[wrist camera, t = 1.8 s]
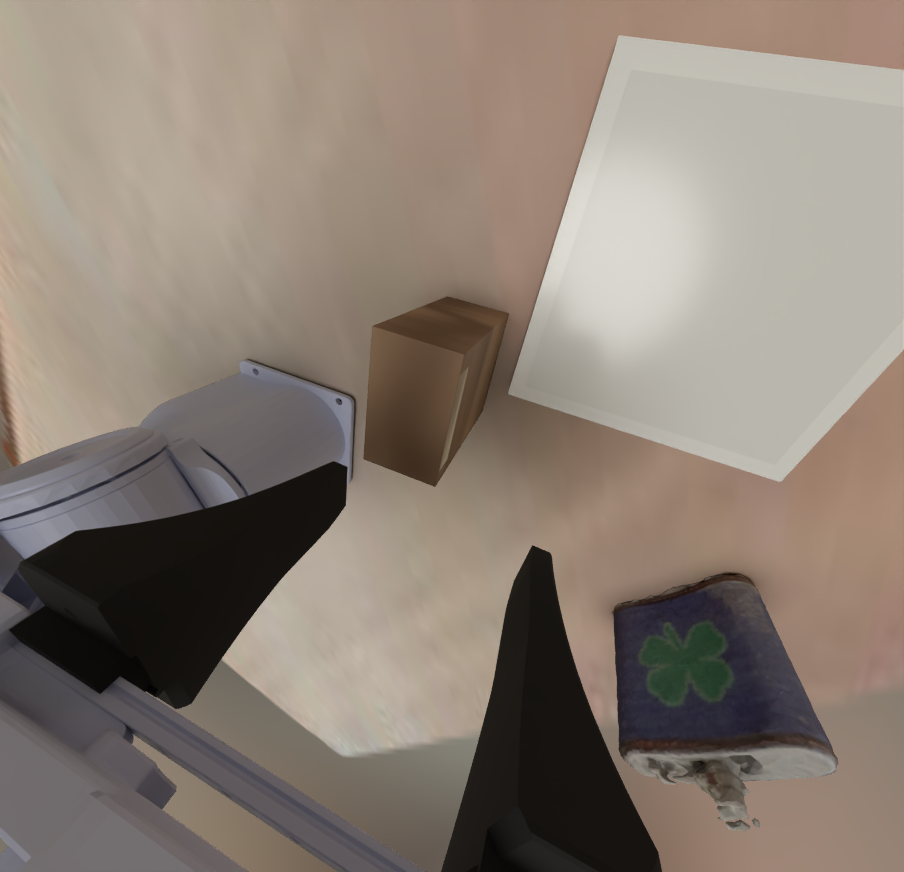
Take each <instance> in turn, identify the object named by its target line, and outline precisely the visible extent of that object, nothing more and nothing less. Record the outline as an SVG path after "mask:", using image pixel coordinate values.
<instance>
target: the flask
mask: <svg viewBox="0 0 904 872" xmlns="http://www.w3.org/2000/svg"><path fill="white" fill-rule="evenodd" d="M704 580H705V581H704V583H703V582H701V583H696V584H692V585H688V586H684V585H683V586H680V587H673V588H672V589H668V590H667V591H665V593H663V594H662V595H661V596H659V597H653V596H651V595H650V596H649V597H648V598H646V599H645V600H641V601H639V600H634V601H632V602H629V603H624V604H618V605H617V606H616V607H615V609H614V611H613V612H612V613H613V614H614V634H615V652H616V655H615V664H616V675H617V700H618V709H617V710H618V724H619V752H620V754H621V756H622V758H623V759H624V760H625V761H626V762H627V763H629V764H630V766H632V767H633V768H635V769H636V770H637V771H638V772H639V773H641V774H643V775H645V776H648V777H649V776H650V777H651V776H653V777H657V778H658V779H660V780H661V781H662V782H663V783H665V784H677V783H676V782H673V781H671V780H669V778H668V777H672V778H673V779H674V780H676V781H678V782H681V783H689V784H696V785H698V786H699V787H700V788H701V790H703V791H705V792H706V793H708V794H709V795H710V796H711V797H712V798H713V799H714V800H715V802H716V803H717V804H718V807H717V809H718V810H719V813H720V817H718V819H720V820H737V819H748V818H749V816H748V814H747V810H746V809H747V808H746V805H745V802H744V796H746V795H747V794H748V793H749V790H748V789H746V787H745V785H744V783H743V782H742V781H756V780H779V779H792V778H808V777H819V776H826V775H829V774H832V773H834V772H835V768H836V767H837V765H838V759H837V757H836V756H835V754H834V752H833V749H832V746H831V744H830V742H829V740H828V738H827V736H826V734H825V732H824V730H823V728H822V726H821V724H820V722H819V720H818V718H817V717H816V714H815V712H814V710H813V708H812V705H811V703H810V701H809V699H808V697H807V694H806V692H805V690H804V688H803V686H802V684H801V681H800V679H799V677H798V675H797V673H796V671H795V670H794V667H793V665H792V663H791V661H790V659H789V657H788V655H787V653H786V650H785V648H784V646H783V644H782V641H781V639H780V637H779V635H778V633H777V631H776V629H775V627H774V625H773V622H772V620H771V618H770V616H769V614H768V612H767V610H766V607H765V605H764V603H763V601H762V599H761V596H760V593H759V591H758V590H757V588H756V587H755V586H754V584H753V583H752V582H751V581H750V580H748V579H747V578H745V577H744V576H742V574H737V575H734V576H733V575H728V576H727V575H718V576H713V577H708V578H704ZM752 822H753V824H754V826H756V827H760V823H759V821H758V820H757V819H755V818H754V819H753V820H752ZM726 826H727V828H729V829H731V830H735V831H737V830H742V831H746V830H748V829H749V828H750V826H749V825H747V824H746V823H745V822H743V821H742V820H739V821H736V822H726Z"/></svg>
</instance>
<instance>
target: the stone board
mask: <svg viewBox="0 0 904 872" xmlns="http://www.w3.org/2000/svg"><path fill="white" fill-rule="evenodd" d="M903 350H904V70H899V69H891V68H882V67H874V66H866V65H858V64H850V63H841V62H833V61H825V60H817V59H809V58H800V57H792V56H784V55H776V54H767V53H759V52H751V51H743V50H735V49H726V48H718V47H710V46H702V45H694V44H685V43H677V42H669V41H661V40H653V39H644V38H636V37H628V36H620V35H619V37H618V40H617V43H616V47H615V50H614V53H613V56H612V59H611V63H610V66H609V69H608V72H607V76H606V79H605V82H604V85H603V88H602V92H601V95H600V98H599V101H598V105H597V108H596V111H595V114H594V117H593V121H592V124H591V127H590V130H589V134H588V137H587V140H586V143H585V146H584V150H583V153H582V156H581V159H580V163H579V166H578V169H577V172H576V176H575V179H574V182H573V185H572V188H571V192H570V195H569V198H568V201H567V205H566V208H565V211H564V214H563V217H562V221H561V224H560V227H559V230H558V234H557V237H556V240H555V243H554V246H553V250H552V253H551V256H550V259H549V263H548V266H547V269H546V272H545V275H544V279H543V282H542V285H541V288H540V292H539V295H538V298H537V301H536V304H535V308H534V311H533V314H532V317H531V321H530V324H529V327H528V330H527V333H526V337H525V340H524V343H523V346H522V350H521V353H520V356H519V359H518V362H517V366H516V369H515V372H514V375H513V379H512V382H511V385H510V388H509V391H508V394H509V395H512V396H515V397H518V398H521V399H524V400H527V401H530V402H534V403H537V404H540V405H543V406H546V407H549V408H552V409H555V410H558V411H561V412H565V413H568V414H571V415H574V416H577V417H580V418H583V419H586V420H589V421H592V422H595V423H599V424H602V425H605V426H608V427H611V428H614V429H617V430H620V431H623V432H626V433H630V434H633V435H636V436H639V437H642V438H645V439H648V440H651V441H654V442H657V443H661V444H664V445H667V446H670V447H673V448H676V449H679V450H682V451H685V452H688V453H692V454H695V455H698V456H701V457H704V458H707V459H710V460H713V461H716V462H719V463H722V464H726V465H729V466H732V467H735V468H738V469H741V470H744V471H747V472H750V473H753V474H757V475H760V476H763V477H766V478H769V479H772V480H775V481H778V482H781V481H782V480H783V479H784V478H785V477H786V476H787V474H788V473H789V472H790V471H791V470H792V469H793V468H794V467H795V466H796V465H797V464H798V463H799V462H800V461H801V459H802V458H803V457H804V456H805V455H806V454H807V453H808V452H809V451H810V450H811V449H812V448H813V447H814V445H815V444H816V443H817V442H818V441H819V440H820V439H821V438H822V437H823V436H824V435H825V434H826V433H827V431H828V430H829V429H830V428H831V427H832V426H833V425H834V424H835V423H836V422H837V421H838V420H839V419H840V417H841V416H842V415H843V414H844V413H845V412H846V411H847V410H848V409H849V408H850V407H851V406H852V405H853V403H854V402H855V401H856V400H857V399H858V398H859V397H860V396H861V395H862V394H863V393H864V392H865V391H866V389H867V388H868V387H869V386H870V385H871V384H872V383H873V382H874V381H875V380H876V379H877V378H878V377H879V375H880V374H881V373H882V372H883V371H884V370H885V369H886V368H887V367H888V366H889V365H890V364H891V363H892V361H893V360H894V359H895V358H896V357H897V356H898V355H899V354H900V353H901V352H902V351H903Z"/></svg>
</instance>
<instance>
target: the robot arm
mask: <svg viewBox="0 0 904 872" xmlns="http://www.w3.org/2000/svg"><path fill="white" fill-rule="evenodd" d="M239 366H240V374H237V375H234V376H232V377H229V378H226V379H224V380H221V381H219V382H216V383H213V384H211V385H208V386H205V387H203V388H200V389H198V390H195V391H192V392H190V393H187V394H184V395H182V396H179V397H177V398H174V399H171V400H169V401H167V402H165V403H163V404H161V405H160V406H158V407H157V408H155V409H154V410H153V411H152V412H151V413H150V414H149V415H148V416H147V417H146V418H145V419H144V420H143V421H142V423H141V424H140V426H139V427H131V428H126V429H121V430H117V431H113V432H110V433H106V434H103V435H99V436H96V437H93V438H90V439H87V440H84V441H81V442H78V443H75V444H72V445H69V446H66V447H64V448H61V449H58V450H55V451H53V452H50V453H47V454H45V455H42V456H40V457H37V458H35V459H32V460H30V461H27V462H25V463H23V464H20V465H18V466H16V467H14V468H11V469H9V470H7V471H5V472H3V473H1V474H0V838H1V839H2V840H3V841H4V842H5V843H6V844H7V845H8V847H7V848H6V849H5V850H4V852H3V853H2V854H1V855H0V872H249V871H248V870H246V869H245V868H243V867H242V866H241V865H239V864H238V863H237V862H235V861H234V860H232V859H231V858H230V857H228V856H227V855H225V854H224V853H223V852H221V851H220V850H218V849H217V848H216V847H214V846H213V845H211V844H210V843H209V842H207V841H206V840H204V839H203V838H202V837H200V836H199V835H197V834H196V833H194V832H193V831H192V830H190V829H189V828H187V827H186V826H185V825H183V824H182V823H180V822H179V821H178V820H176V819H175V818H173V817H172V816H170V815H169V814H168V813H166V812H165V811H163V810H162V809H163V808H164V806H165V805H166V804H167V802H168V801H169V800H170V798H171V797H172V796H173V795H174V793H175V792H176V787H177V786H176V785H175V784H174V783H173V782H172V781H170V780H169V779H168V778H167V777H166V776H165V775H164V774H163V773H162V772H161V771H160V769H158V767H157V765H156V763H155V762H154V761H153V760H151V759H150V758H149V757H147V756H146V755H145V754H143V753H142V752H141V751H139V750H138V749H137V748H136V747H134V746H133V745H132V743H133V734H134V735H135V736H137V737H138V738H140V739H141V740H142V741H144V742H146V743H147V744H148V745H150V746H151V747H153V748H155V749H156V750H157V751H159V752H160V753H162V754H163V755H165V756H166V757H168V758H169V759H171V760H172V761H174V762H175V763H177V764H178V765H180V766H181V767H183V768H184V769H186V770H187V771H189V772H190V773H192V774H193V775H195V776H196V777H198V778H199V779H201V780H202V781H204V782H205V783H207V784H208V785H210V786H211V787H213V788H214V789H215V790H217V791H218V792H220V793H221V794H223V795H225V796H226V797H227V798H229V799H230V800H232V801H233V802H235V803H237V804H238V805H239V806H241V807H242V808H244V809H245V810H247V811H248V812H250V813H251V814H253V815H254V816H256V817H257V818H259V819H260V820H262V821H263V822H265V823H266V824H268V825H269V826H271V827H272V828H274V829H275V830H277V831H278V832H280V833H281V834H283V835H284V836H286V837H287V838H289V839H290V840H291V841H293V842H294V843H296V844H298V845H299V846H301V847H302V848H303V849H305V850H306V851H308V852H309V853H311V854H312V855H314V856H315V857H317V858H318V859H320V860H321V861H323V862H324V863H326V864H327V865H329V866H330V867H332V868H333V869H335V870H336V871H338V872H427V871H425V870H423V869H422V868H420V867H419V866H417V865H416V864H414V863H413V862H411V861H409V860H408V859H406V858H405V857H403V856H402V855H400V854H398V853H397V852H395V851H394V850H392V849H391V848H389V847H387V846H386V845H384V844H383V843H381V842H379V841H378V840H376V839H375V838H373V837H372V836H370V835H368V834H367V833H365V832H364V831H362V830H361V829H359V828H358V827H356V826H354V825H353V824H351V823H350V822H348V821H347V820H345V819H343V818H342V817H340V816H339V815H337V814H336V813H334V812H332V811H331V810H329V809H328V808H326V807H325V806H323V805H321V804H320V803H318V802H317V801H315V800H314V799H312V798H310V797H309V796H307V795H306V794H304V793H303V792H301V791H299V790H298V789H296V788H295V787H293V786H291V785H290V784H288V783H287V782H285V781H284V780H282V779H281V778H279V777H277V776H276V775H274V774H273V773H271V772H270V771H268V770H266V769H265V768H263V767H261V766H260V765H259V764H257V763H256V762H254V761H252V760H251V759H249V758H248V757H246V756H245V755H242V754H241V753H240V752H238V751H237V750H235V749H234V748H232V747H230V746H229V745H227V744H226V743H224V742H223V741H221V740H219V739H218V738H216V737H215V736H213V735H212V734H210V733H208V732H207V731H205V730H204V729H202V728H201V727H199V726H197V725H196V724H194V723H193V722H191V721H189V720H188V719H186V718H185V717H183V716H182V715H180V714H179V713H177V712H175V711H173V710H172V709H171V708H169V707H167V706H166V705H164V704H163V703H161V702H160V701H158V700H156V699H155V698H153V697H152V696H150V695H149V694H147V693H146V691H147V692H148V693H150V694H151V695H153V696H155V697H158V698H160V699H161V700H163V701H164V702H166V703H167V704H169V705H170V706H172V707H173V708H175V709H179V708H182V707H185V706H187V705H189V704H191V703H192V702H193V700H194V699H195V697H196V696H197V694H198V693H199V691H200V690H201V688H202V687H203V685H204V684H205V682H206V681H207V679H208V678H209V676H210V675H211V673H212V672H213V670H214V669H215V667H216V666H217V664H218V663H219V661H220V660H221V659H222V657H223V656H224V654H225V653H226V651H227V650H228V649H229V647H230V646H231V644H232V643H233V642H234V640H235V639H236V637H237V636H238V635H239V633H240V632H241V630H242V629H243V628H244V626H245V625H246V624H247V622H248V621H249V620H250V618H251V617H252V616H253V614H254V613H255V612H256V610H257V609H258V608H259V606H260V605H261V604H262V603H263V601H264V600H265V599H266V597H267V596H268V595H269V594H270V592H271V591H272V590H273V589H274V587H275V586H276V585H277V583H278V582H279V581H280V580H281V579H282V578H283V577H284V575H285V574H286V573H287V572H288V571H289V570H290V569H291V568H292V567H293V566H294V565H295V564H296V563H297V562H298V560H299V559H300V558H301V557H302V556H303V555H304V554H305V553H306V552H307V551H308V550H309V549H310V548H311V547H312V546H313V545H314V544H315V543H316V542H317V540H318V539H319V538H320V537H321V536H322V535H323V534H324V533H325V532H326V531H327V530H328V529H329V528H330V526H331V525H332V524H333V522H334V521H335V520H336V518H337V517H338V516H339V514H340V513H341V511H342V510H343V508H344V507H345V506H346V489H347V485H348V484H349V483H350V482H351V470H352V447H353V424H354V401H353V399H352V398H351V397H350V396H348V395H345V394H342V393H339V392H336V391H334V390H331V389H328V388H325V387H322V386H319V385H317V384H314V383H311V382H308V381H305V380H303V379H300V378H297V377H294V376H291V375H288V374H286V373H283V372H280V371H277V370H274V369H271V368H269V367H266V366H263V365H260V364H257V363H255V362H252V361H249V360H243V361H241V362H240V363H239ZM257 370H258V371H257ZM339 399H341V401H342V402H340V400H339ZM441 872H662V869H661V864H660V859H659V854H658V851H657V849H656V847H655V845H654V843H653V841H652V840H651V838H650V836H649V834H648V832H647V830H646V828H645V826H644V824H643V822H642V820H641V818H640V816H639V814H638V812H637V810H636V808H635V806H634V804H633V802H632V800H631V798H630V796H629V794H628V792H627V790H626V788H625V786H624V784H623V782H622V780H621V777H620V775H619V773H618V771H617V769H616V767H615V765H614V762H613V760H612V758H611V756H610V753H609V751H608V749H607V746H606V744H605V742H604V739H603V737H602V734H601V732H600V730H599V727H598V725H597V723H596V720H595V718H594V716H593V713H592V711H591V708H590V705H589V703H588V700H587V697H586V695H585V692H584V689H583V686H582V683H581V681H580V678H579V675H578V672H577V669H576V666H575V663H574V659H573V656H572V653H571V649H570V646H569V642H568V639H567V635H566V631H565V627H564V623H563V619H562V614H561V610H560V606H559V601H558V596H557V590H556V585H555V579H554V572H553V564H552V556H551V554H550V553H549V552H547V551H545V550H542V549H540V548H538V547H535V546H533V545H532V547H531V549H530V551H529V553H528V555H527V557H526V559H525V561H524V563H523V565H522V566H521V568H520V570H519V572H518V574H517V576H516V578H515V580H514V583H513V586H512V590H511V593H510V597H509V600H508V604H507V607H506V612H505V618H504V623H503V629H502V635H501V641H500V647H499V653H498V659H497V664H496V670H495V676H494V681H493V686H492V691H491V695H490V699H489V703H488V707H487V711H486V714H485V718H484V722H483V726H482V730H481V733H480V737H479V741H478V745H477V748H476V752H475V756H474V759H473V763H472V767H471V770H470V774H469V777H468V781H467V785H466V788H465V791H464V795H463V799H462V802H461V806H460V809H459V813H458V816H457V819H456V823H455V827H454V830H453V833H452V837H451V840H450V844H449V847H448V851H447V854H446V857H445V860H444V864H443V867H442V871H441Z"/></svg>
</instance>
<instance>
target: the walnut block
mask: <svg viewBox="0 0 904 872" xmlns="http://www.w3.org/2000/svg"><path fill="white" fill-rule="evenodd" d="M508 316H509V314H508V313H505V312H501V311H497V310H494V309H490V308H487V307H483V306H480V305H476V304H472V303H469V302H465V301H462V300H458V299H454V298H451V297H445V298H443V299H440V300H438V301H435V302H433V303H430V304H428V305H425V306H423V307H420V308H417V309H415V310H412V311H410V312H407V313H405V314H402V315H400V316H397V317H395V318H392V319H390V320H387V321H384V322H382V323H379V324H377V325H374V326H372V339H371V354H370V369H369V384H368V399H367V414H366V429H365V444H364V459H365V460H367V461H370V462H372V463H375V464H378V465H380V466H383V467H385V468H388V469H391V470H393V471H396V472H398V473H401V474H403V475H406V476H409V477H411V478H414V479H416V480H419V481H421V482H424V483H427V484H429V485H432V486H434V487H435V486H436V485H437V483H438V481H439V480H440V478H441V477H442V475H443V473H444V472H445V470H446V469H447V467H448V465H449V464H450V462H451V461H452V459H453V457H454V456H455V454H456V453H457V451H458V449H459V448H460V446H461V445H462V443H463V441H464V440H465V438H466V437H467V435H468V433H469V432H470V430H471V429H472V427H473V425H474V424H475V422H476V421H477V419H478V417H479V416H480V414H481V413H482V410H483V407H484V403H485V399H486V396H487V392H488V388H489V385H490V381H491V378H492V374H493V370H494V367H495V363H496V359H497V356H498V352H499V348H500V345H501V341H502V337H503V334H504V330H505V326H506V323H507V319H508Z"/></svg>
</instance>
